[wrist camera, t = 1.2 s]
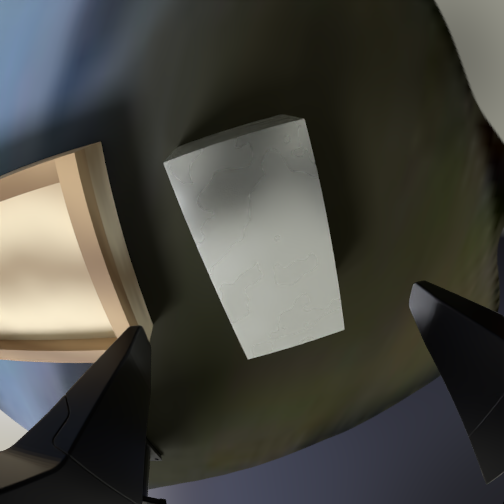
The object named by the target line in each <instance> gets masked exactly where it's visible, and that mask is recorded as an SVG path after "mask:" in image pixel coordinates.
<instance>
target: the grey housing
mask: <svg viewBox="0 0 504 504" xmlns="http://www.w3.org/2000/svg"><path fill="white" fill-rule="evenodd" d="M163 163H164V166H165V169H166V171H167V174H168V176H169V179H170V182H171V184H172V187H173V189H174V192H175V194H176V197H177V199H178V202H179V204H180V207H181V209H182V212H183V214H184V217H185V219H186V222H187V224H188V226H189V229H190V231H191V234H192V236H193V238H194V241H195V243H196V246H197V248H198V250H199V253H200V255H201V257H202V260H203V262H204V264H205V267H206V269H207V271H208V273H209V276H210V278H211V280H212V283H213V285H214V287H215V289H216V292H217V294H218V296H219V298H220V301H221V303H222V305H223V307H224V309H225V312H226V314H227V316H228V318H229V320H230V322H231V325H232V327H233V329H234V331H235V333H236V335H237V338H238V340H239V342H240V344H241V346H242V348H243V350H244V352H245V354H246V356H247V359H252V358H255V357H259V356H263V355H266V354H270V353H273V352H277V351H280V350H283V349H287V348H290V347H293V346H297V345H300V344H303V343H306V342H309V341H312V340H315V339H318V338H321V337H324V336H327V335H330V334H333V333H336V332H339V331H342V330H344V321H343V314H342V306H341V299H340V292H339V285H338V278H337V272H336V266H335V260H334V254H333V248H332V242H331V237H330V231H329V226H328V220H327V215H326V210H325V205H324V200H323V195H322V191H321V186H320V181H319V177H318V172H317V168H316V164H315V159H314V155H313V151H312V147H311V143H310V139H309V135H308V131H307V127H306V123H305V119H303V118H299V117H294V116H289V115H284V114H281V115H277V116H273V117H270V118H266V119H262V120H259V121H255V122H252V123H248V124H245V125H241V126H238V127H235V128H232V129H228V130H225V131H222V132H219V133H216V134H213V135H210V136H207V137H204V138H201V139H198V140H195V141H192V142H190V143H187V144H184V145H181V146H179V147H177V148H176V149H175V150H174V151H173V152H172V153H171V154H170V156H169V157H168V158H167V159H166V160H165V161H164V162H163Z"/></svg>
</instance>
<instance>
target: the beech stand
mask: <svg viewBox="0 0 504 504" xmlns="http://www.w3.org/2000/svg"><path fill="white" fill-rule="evenodd" d="M136 325H141V326H142V327H143V328H144V330H145V333H146V335H147V338H148V340H149V342H150V338H151V333H152V328H153V323H152V321H151V318H150V315H149V313H148V310H147V307H146V304H145V302H144V299H143V296H142V293H141V290H140V287H139V284H138V281H137V278H136V275H135V272H134V269H133V266H132V263H131V260H130V257H129V253H128V250H127V247H126V243H125V240H124V236H123V233H122V229H121V226H120V222H119V218H118V215H117V211H116V207H115V203H114V199H113V195H112V191H111V187H110V182H109V178H108V173H107V169H106V164H105V159H104V154H103V149H102V144H101V142H97V143H94V144H90V145H87V146H83V147H80V148H76V149H73V150H70V151H67V152H64V153H61V154H58V155H55V156H52V157H49V158H46V159H43V160H40V161H37V162H34V163H32V164H29V165H26V166H24V167H21V168H19V169H16V170H14V171H11V172H9V173H6V174H4V175H1V176H0V359H1V360H14V361H31V362H57V363H95V362H96V361H97V359H98V358H99V357H100V356H101V355H102V354H103V353H104V352H105V351H106V350H107V349H108V348H109V347H110V346H111V345H112V344H113V343H114V342H115V341H116V340H117V338H118V337H119V336H120V335H121V334H122V333H123V332H124V331H125V330H126V329H127V328H128V327H130V326H136Z"/></svg>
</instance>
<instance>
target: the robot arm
mask: <svg viewBox="0 0 504 504" xmlns="http://www.w3.org/2000/svg"><path fill="white" fill-rule="evenodd" d="M409 307H410V310H411V312H412V315H413V317H414V319H415V321H416V324H417V326H418V329H419V331H420V333H421V336H422V338H423V340H424V343H425V345H426V347H427V349H428V351H429V352H430V354H431V356H432V358H433V360H434V362H435V364H436V366H437V368H438V370H439V372H440V374H441V376H442V378H443V380H444V382H445V384H446V386H447V388H448V391H449V392H450V395H451V397H452V399H453V401H454V403H455V406H456V408H457V410H458V412H459V415H460V417H461V419H462V421H463V424H464V426H465V429H466V431H467V434H468V436H469V439H470V441H471V444H472V447H473V449H474V452H475V454H476V457H477V460H478V462H479V465H480V468H481V471H482V474H483V477H484V479H485V482H486V484H488V483H490V482H491V481H493V480H494V479H495V478H497V477H498V476H499V475H501V474H502V473H503V472H504V317H503V315H501V314H499V313H497V312H494V311H492V310H490V309H488V308H486V307H483V306H481V305H479V304H477V303H475V302H472V301H470V300H468V299H466V298H464V297H461V296H459V295H457V294H455V293H452V292H450V291H448V290H445V289H443V288H441V287H439V286H436V285H434V284H432V283H429V282H427V281H419V282H415V283H414V284H413V287H412V291H411V295H410V299H409ZM150 392H151V345H150V342H149V340H148V338H147V335H146V333H145V330H144V328H143V327H142V326H141V325H136V326H130V327H128V328H127V329H126V330H125V331H124V332H123V333H122V334H121V335H120V336H119V337H118V338H117V340H116V341H115V342H114V343H113V344H112V345H111V346H110V347H109V348H108V349H107V350H106V351H105V352H104V353H103V354H102V355H101V356H100V357H99V358H98V359H97V361H96V362H95V363H94V364H93V365H92V366H91V367H90V368H89V369H88V370H87V371H86V372H85V373H84V374H83V375H82V377H81V378H80V379H79V380H78V381H77V382H76V383H75V384H74V385H73V386H72V387H71V388H70V390H69V391H68V392H67V393H66V395H64V396H63V397H62V398H61V399H60V400H59V402H58V403H57V404H56V405H55V406H54V407H53V408H52V409H51V410H50V411H49V412H48V413H47V414H46V415H45V416H44V417H43V418H42V419H41V420H40V421H39V422H38V423H37V424H36V425H35V426H34V427H32V428H31V429H30V430H29V431H28V432H27V433H26V434H25V435H24V436H23V437H22V438H21V439H20V440H18V442H16V443H15V444H14V445H13V446H11V447H10V448H8V449H6V450H4V451H0V504H166V500H165V499H156V498H151V497H148V484H149V469H150V461H161V460H162V457H161V455H160V454H159V453H158V452H157V451H156V450H155V448H154V447H153V446H152V445H151V444H150V442H149V441H148V440H147V439H146V432H147V421H148V412H149V402H150ZM503 504H504V502H503Z"/></svg>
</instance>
